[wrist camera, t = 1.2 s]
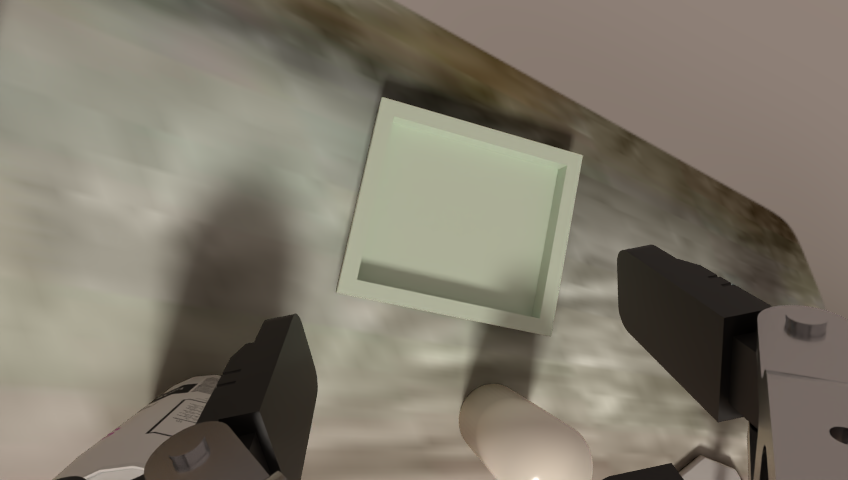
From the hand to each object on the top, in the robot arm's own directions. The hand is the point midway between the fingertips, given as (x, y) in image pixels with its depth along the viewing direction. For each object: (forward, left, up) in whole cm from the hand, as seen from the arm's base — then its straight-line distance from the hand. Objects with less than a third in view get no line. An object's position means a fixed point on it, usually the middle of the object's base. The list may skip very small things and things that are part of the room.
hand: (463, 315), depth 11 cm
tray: (+6, +7, -25) cm, 27 cm away
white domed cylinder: (+12, -8, -25) cm, 29 cm away
